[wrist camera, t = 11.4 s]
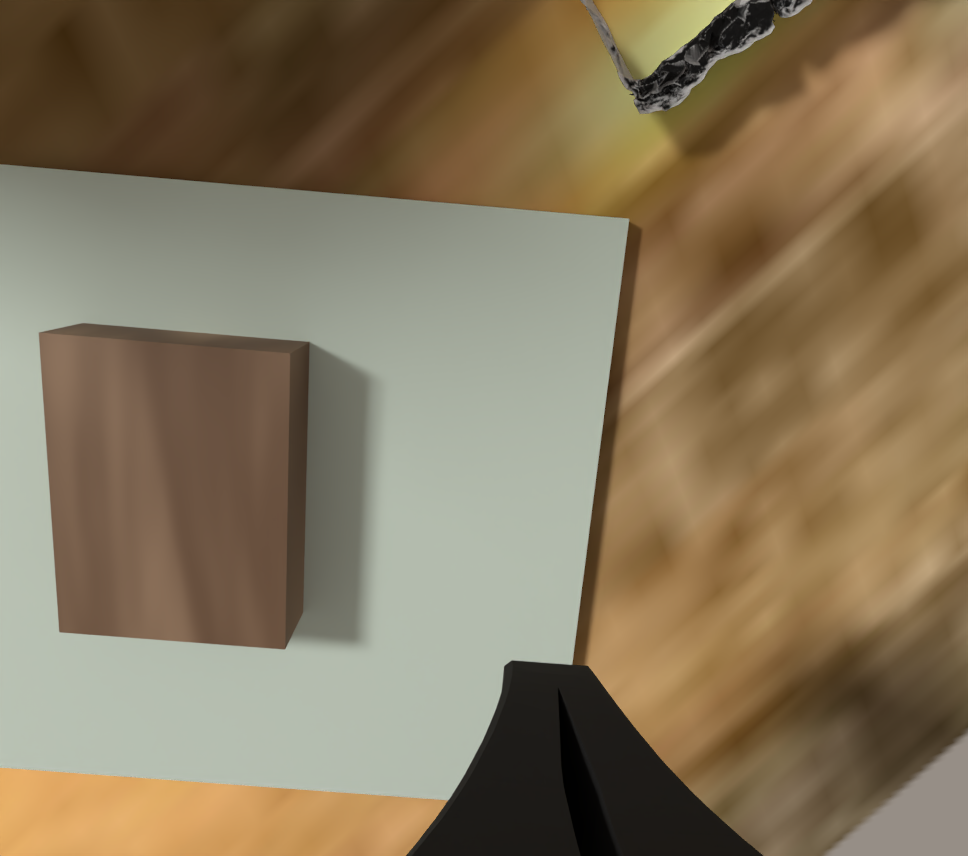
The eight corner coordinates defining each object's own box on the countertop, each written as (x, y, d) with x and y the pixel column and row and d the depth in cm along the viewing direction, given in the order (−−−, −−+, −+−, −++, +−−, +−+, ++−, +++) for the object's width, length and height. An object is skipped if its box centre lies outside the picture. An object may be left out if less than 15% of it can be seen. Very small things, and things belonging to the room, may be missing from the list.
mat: (552, 796, 24) (553, 807, 23) (-10, 755, 24) (-20, 766, 23) (625, 218, 19) (629, 218, 19) (-69, 158, 19) (-84, 156, 19)
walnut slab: (290, 353, 18) (38, 332, 18) (285, 649, 20) (59, 632, 20) (309, 341, 20) (82, 322, 20) (303, 612, 22) (97, 596, 22)
